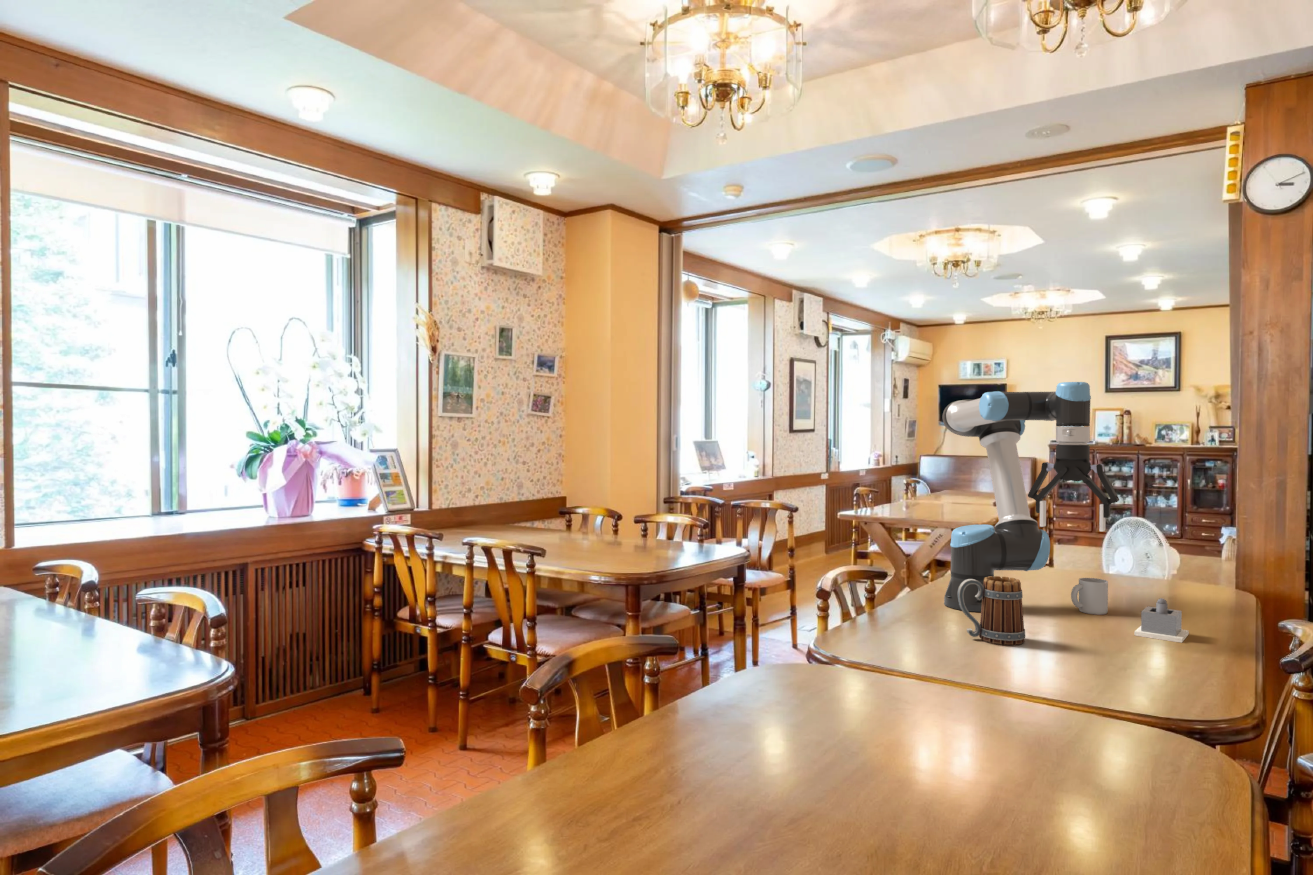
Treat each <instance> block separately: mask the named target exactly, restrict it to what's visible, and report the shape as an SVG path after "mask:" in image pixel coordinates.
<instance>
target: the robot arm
mask: <svg viewBox="0 0 1313 875" xmlns="http://www.w3.org/2000/svg"><path fill="white" fill-rule="evenodd" d="M1090 388H1091V386H1090V384H1089V383H1088V382H1086V381H1063V382H1058V383H1057V385H1056V388H1055V391H999V390H997V391H987V392H984V393H982V396H981V397H980V398H976V399H962V400H956V401H952V402H950V403H949V404H948V405H947V406H946V407H945V408H944V410H943V413H942V416H941V417H942V423H943V425H944V426H945V428H946V429H947V430H948V431H949V432H951V433H953V435H954V434H955V435H958V436H960V437H970V438H973V437H974V438H978V439H979V444H980V446H982V447H983V448H985V449H986V454H987V460H988V466H989V471H990V477H991V482H992V488H993V495H994V501H995V506H996V511H997V517H998V522H996V524H995V525H991V524H969V525H962V526H959V527H955V529H953V530H952V532H951V536H950V537H951V538H950V539H951V540H950V543H949V545H950V580H949V582H948V584H947V585H948V586H947V588H946V591H945V594H944V598H943V604H944V605H945V607H948V608H950V609H954V610H959V611H962V609H961V608H960V605H959V601H958V589H959V586H960V584H961V583H962V582H963V581H965V580H967V579H975V580H977V581H979V582H980V583H981V584H982V585H983V584H984V579H985V577H989V576H993V578H994V576H995V571H1021V572H1022V571H1024V572H1028V571H1039V570H1041V569H1043V568H1044V567H1045V566H1046V564H1047V562H1048V560H1049V557H1050V551H1051V540H1050V537H1049V534H1048V532H1047V531H1046V530H1043V529H1041V528H1043V527H1046V526H1047V500H1043V499H1044V498H1045V497H1047V495H1048V494H1049V493H1050V492H1051V491H1052V490H1053V489H1054V488H1055V487H1056V486H1057V485H1058V484H1059V482H1061V481H1064V482H1069V481H1072V482H1081V481H1082V482H1083V483H1084V484H1085V485H1086V486H1087V487H1088V489H1090V490H1091V491H1092V493H1093V494H1094V495H1095V496H1096V497H1097V498H1098V499H1099V500H1100V502H1101V503H1100V504H1099V524H1098V525H1099V527H1098V528H1099V529H1098V530H1099V532H1106V519H1108V518H1110V517H1111V505H1112V504H1114V503H1118V502H1119V501H1120V498H1119V496H1118V494H1117V492H1116V490H1115V488H1114V487H1113V484H1112V483H1111V481H1110V479H1109V477H1108V476H1107V475H1108V474H1106V469H1105V465H1104V464H1103V463H1098V464H1091V462H1090V461H1091V459H1090V457H1091V454H1090V453H1091V452H1090V451H1091V450H1090V449H1091V446H1089V443H1090V442H1091V426H1090V424H1091V399H1092V397H1091V396H1092V395H1091V389H1090ZM1026 421H1046V422H1047V421H1048V422H1049V421H1050V422H1054V421H1055V441H1056V443H1058V444H1056V446H1055V462H1054V463H1050V462H1048V461H1047V462H1046V461H1045V462H1042V463H1041V466H1040V467H1041V468H1040V472H1039V474H1038V475H1037V477H1036V479H1035V481H1034V483H1033V484H1032V487H1031V488H1030V489H1029V490H1030V491H1029V492H1028V493H1027V492H1026V488H1025V481H1024V477H1023V472H1022V468H1021V467H1022V465H1021V462H1020V461H1021V460H1020V457H1019V451H1018V447H1017V443H1019V441H1020V440H1021V436H1022V435H1023V434H1024V432H1025V430H1026ZM1053 469H1054V471H1055V472H1056V475H1054V477H1053V478H1052V479H1051V480H1050V482H1049V483H1048V484H1047V485H1046V486H1044V488H1042V490H1041V491H1040V489H1041V487H1042V484H1043V483H1044V481H1045V480H1046V478H1047V476H1048V474H1049V472H1051V471H1052V470H1053ZM1092 470H1093V472H1094V473H1095V474H1097V476H1098V478H1099V480H1100V483H1102V486H1103V488H1104V489H1105V491H1106V493H1107V494H1105V493H1104V491H1103V490H1102V489H1101V488H1100V487H1099V486H1098V484H1096V483H1095V481H1094V480H1093V479H1092V477H1091V476H1090V475H1089V473H1090V472H1091V471H1092ZM1039 491H1040V492H1039ZM1107 495H1108V496H1107ZM1027 497H1028V498H1031V499H1033V500H1035V512H1036V513H1037V514H1039V526H1038V521H1037V520H1036V519H1034V518H1033V517H1031V513H1030V508H1029V503H1028V498H1027ZM1039 528H1040V529H1039ZM977 594H978V586H977V585H975V584H970V585H968V586H967V587H966V588H965V590H964V594H963V598H964V603H965V606H966V609H967V610H968V612H975V613H976V612H980V613H981V607H982V599H981V600H978V599H977V598H976V597H975V596H976V595H977Z"/></svg>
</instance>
